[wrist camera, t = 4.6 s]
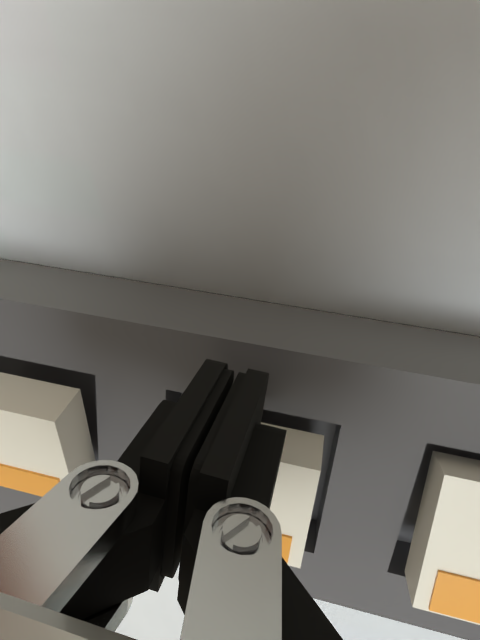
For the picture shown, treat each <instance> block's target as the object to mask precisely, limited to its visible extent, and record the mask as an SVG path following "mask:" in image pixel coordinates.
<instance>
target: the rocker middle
mask: <svg viewBox="0 0 480 640" xmlns="http://www.w3.org/2000/svg"><path fill="white" fill-rule="evenodd" d="M261 424H264V425H268V426H272V427H276V428H280V429H284V430H287V432H286V437H285V442H284V447H283V451H282V456H281V461H280V465H279V470H278V475H277V479H276V484H275V488H274V492H273V497H272V501H271V505H270V510H271V511H272V512H273V513H274V514H275V516H276V518H277V520H278V521H279V523H280V527H281V533H282V557H283V559H284V560H285V562H286V563H287V564H288V565H289V566H292V567H296V568H300V567H301V563H302V558H303V553H304V549H305V544H306V539H307V534H308V530H309V525H310V520H311V515H312V511H313V506H314V501H315V496H316V492H317V487H318V482H319V477H320V473H321V464H322V454H323V444H324V435H320V434H315V433H310V432H305V431H301V430H296V429H291V428H286V427H282V426H277V425H272V424H267V423H262V422H261Z"/></svg>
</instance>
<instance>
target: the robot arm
mask: <svg viewBox="0 0 480 640" xmlns="http://www.w3.org/2000/svg"><path fill="white" fill-rule="evenodd" d="M268 379H269V373H267V372H262V371H258V370H254V369H249V368H248V370H247V372H246V373H242V372H239V373H238V374H237V376H236V378H235V380H234V371H233V370H229V369H228V364H227V363H223V362H219V361H215V360H211V359H206V360H205V361H204V363H203V364H202V366H201V367H200V369H199V370H198V372H197V373H196V375H195V376H194V378H193V379H192V381H191V382H190V384H189V385H188V387H187V388H186V389H185V391H184V392H183V394H182V395H181V397H180V398H179V400H178V401H177V402H173V401H169V400H162V402H161V403H160V404H159V405H158V406H157V408H156V409H155V410H154V412H153V413H152V414H151V416H150V417H149V419H148V420H147V421H146V423H145V424H144V425H143V427H142V428H141V429H140V431H139V432H138V433H137V435H136V436H135V438H134V439H133V440H132V442H131V443H130V444H129V446H128V447H127V448H126V450H125V451H124V452H123V454H122V455H121V457H120V458H119V459H118V461H113V460H98V461H92V462H88V463H86V464H83V465H81V466H79V467H77V468H76V469H74V470H73V471H71V472H70V473H69V474H68V475H66V476H65V477H64V478H63V479H62V480H61V481H60V482H59V483H58V484H56V485H55V486H54V487H53V488H52V489H51V490H50V491H49V492H47V493H46V494H45V495H44V496H43V497H42V498H41V499H40V500H38V501H37V502H36V503H33V504H30V505H27V506H23V507H20V508H17V509H13V510H10V511H7V512H3V513H0V640H136V639H133V638H131V637H128V636H125V635H122V634H119V633H116V632H115V630H116V629H117V627H118V626H119V624H120V623H121V621H122V620H123V618H124V617H125V615H126V614H127V612H128V610H129V608H130V606H131V604H132V599H133V597H134V596H136V595H138V594H140V593H143V592H145V591H147V590H148V589H150V590H153V591H156V592H158V591H159V588H160V586H161V584H162V582H163V579H164V577H165V576H167V577H170V578H173V577H174V575H175V573H176V570H177V568H178V566H179V563H180V568H179V579H178V580H179V588H178V597H177V600H178V602H179V604H180V607H181V609H182V611H183V613H184V615H185V616H184V621H183V626H182V631H181V636H180V640H343V639H342V638H341V636H340V635H339V634H338V632H337V631H336V630H335V628H334V627H333V625H332V624H331V623H330V621H329V620H328V619H327V617H326V616H325V615H324V613H323V612H322V611H321V609H320V608H319V606H318V605H317V604H316V602H315V601H314V600H313V598H312V597H311V596H310V594H309V593H308V591H307V590H306V589H305V587H304V586H303V585H302V583H301V582H300V581H299V579H298V578H297V577H296V575H295V574H294V572H293V571H292V570H291V568H290V567H289V566H288V564H287V563H286V562H285V560H284V559H283V557H282V533H281V527H280V523H279V521H278V520H277V518H276V516H275V514H274V513H273V512H272V511H271V510H270V505H271V501H272V497H273V492H274V488H275V484H276V479H277V475H278V470H279V465H280V461H281V456H282V451H283V447H284V442H285V437H286V432H287V430H284V429H280V428H276V427H272V426H268V425H264V424H261V419H262V413H263V407H264V402H265V396H266V391H267V385H268ZM233 380H234V382H233Z"/></svg>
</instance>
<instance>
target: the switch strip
mask: <svg viewBox="0 0 480 640" xmlns="http://www.w3.org/2000/svg"><path fill="white" fill-rule="evenodd" d="M206 359H211V360H215V361H219V362H223V363H227V364H228V369H229V370H233V371H234V380H235V378H236V376H237V374H238V373H239V372H242V373H246V372H247V370H248V368H249V369H254V370H258V371H262V372H267V373H269V379H268V385H267V391H266V396H265V402H264V407H263V413H262V419H261V422H262V423H267V424H272V425H277V426H282V427H286V428H291V429H296V430H301V431H305V432H310V433H315V434H320V435H324V444H323V454H322V464H321V473H320V477H319V482H318V487H317V492H316V496H315V501H314V506H313V511H312V515H311V520H310V525H309V530H308V534H307V539H306V544H305V549H304V553H303V558H302V563H301V567H300V568H296V567H292V566H289V565H288V566H289V567H290V568H291V570H292V571H293V572H294V574H295V575H296V577H297V578H298V579H299V581H300V582H301V583H302V585H303V586H304V587H305V589H306V590H307V591H308V593H309V594H310V596H311V597H312V598H315V599H319V600H322V601H326V602H330V603H333V604H337V605H341V606H345V607H348V608H352V609H356V610H359V611H363V612H367V613H370V614H374V615H378V616H381V617H385V618H389V619H393V620H396V621H400V622H404V623H407V624H411V625H415V626H418V627H422V628H426V629H429V630H433V631H437V632H440V633H444V634H448V635H452V636H455V637H459V638H463V639H466V640H480V625H478V624H474V623H470V622H467V621H463V620H459V619H455V618H451V617H448V616H444V615H440V614H436V613H433V612H429V611H425V610H421V609H417V608H414V607H412V603H411V599H410V594H409V590H408V585H407V581H406V576H405V572H404V571H405V567H406V563H407V558H408V554H409V550H410V546H411V541H412V537H413V533H414V529H415V524H416V520H417V516H418V511H419V507H420V503H421V499H422V494H423V490H424V486H425V482H426V477H427V473H428V469H429V465H430V460H431V456H432V452H433V451H437V452H442V453H447V454H451V455H456V456H461V457H466V458H471V459H476V460H480V337H477V336H471V335H465V334H459V333H453V332H447V331H440V330H434V329H428V328H422V327H416V326H410V325H404V324H397V323H391V322H385V321H379V320H373V319H367V318H361V317H355V316H348V315H342V314H336V313H330V312H324V311H318V310H312V309H306V308H299V307H293V306H287V305H281V304H275V303H269V302H263V301H256V300H250V299H244V298H238V297H232V296H226V295H220V294H214V293H207V292H201V291H195V290H189V289H183V288H177V287H171V286H165V285H158V284H152V283H146V282H140V281H134V280H128V279H122V278H115V277H109V276H103V275H97V274H91V273H85V272H79V271H73V270H66V269H60V268H54V267H48V266H42V265H36V264H30V263H24V262H17V261H11V260H5V259H0V372H2V373H7V374H11V375H16V376H21V377H26V378H30V379H35V380H40V381H44V382H49V383H54V384H59V385H63V386H68V387H73V388H78V389H80V391H81V395H82V400H83V405H84V409H85V414H86V418H87V423H88V428H89V432H90V437H91V442H92V446H93V451H94V456H95V460H96V461H98V460H113V461H118V459H119V458H120V457H121V455H122V454H123V452H124V451H125V450H126V448H127V447H128V446H129V444H130V443H131V442H132V440H133V439H134V438H135V436H136V435H137V433H138V432H139V431H140V429H141V428H142V427H143V425H144V424H145V423H146V421H147V420H148V419H149V417H150V416H151V414H152V413H153V412H154V410H155V409H156V408H157V406H158V405H159V404H160V403H161V402H162V400H169V401H173V402H177V401H178V400H179V398H180V397H181V395H182V394H183V392H184V391H185V389H186V388H187V387H188V385H189V384H190V382H191V381H192V379H193V378H194V376H195V375H196V373H197V372H198V370H199V369H200V367H201V366H202V364H203V363H204V361H205V360H206ZM234 380H233V382H234ZM41 498H42V497H41V496H37V495H33V494H30V493H26V492H22V491H18V490H14V489H10V488H6V487H3V486H0V513H3V512H7V511H10V510H13V509H17V508H20V507H23V506H27V505H30V504H33V503H36V502H37V501H38V500H40V499H41Z"/></svg>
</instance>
